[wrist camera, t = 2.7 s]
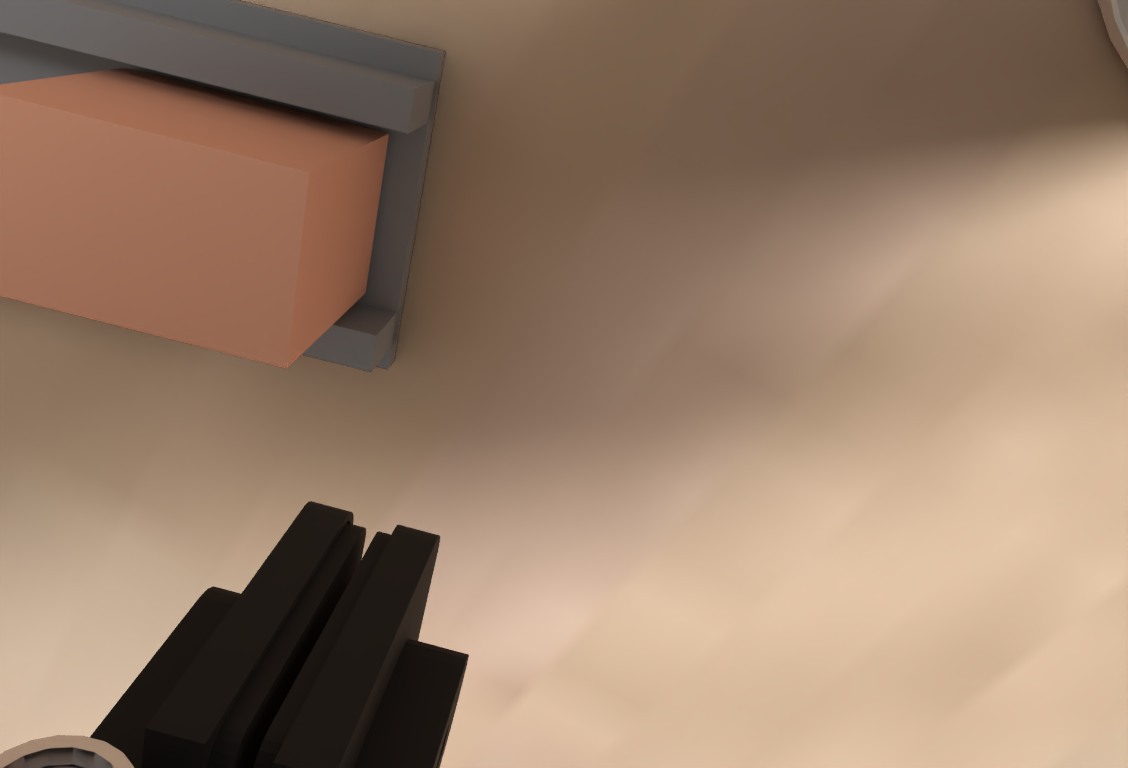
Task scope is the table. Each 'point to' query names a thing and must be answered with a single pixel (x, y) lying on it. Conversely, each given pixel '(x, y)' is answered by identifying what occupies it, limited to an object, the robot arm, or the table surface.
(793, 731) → the table surface
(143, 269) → the block
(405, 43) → the chute
